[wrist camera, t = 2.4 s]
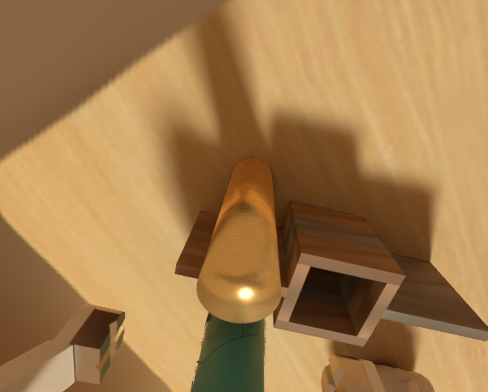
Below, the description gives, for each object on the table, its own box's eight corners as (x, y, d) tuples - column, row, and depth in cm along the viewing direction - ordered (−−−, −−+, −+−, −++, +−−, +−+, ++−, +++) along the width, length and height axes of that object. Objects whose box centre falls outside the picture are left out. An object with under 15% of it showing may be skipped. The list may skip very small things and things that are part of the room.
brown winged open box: (205, 181, 28) (181, 226, 20) (446, 236, 29) (520, 301, 20) (195, 244, 31) (170, 305, 23) (411, 292, 32) (462, 367, 24)
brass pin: (258, 149, 26) (252, 243, 12) (279, 183, 27) (297, 305, 13) (224, 170, 27) (179, 279, 13) (246, 201, 28) (227, 333, 14)
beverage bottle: (244, 262, 32) (218, 515, 13) (276, 299, 34) (291, 563, 15) (202, 286, 34) (130, 536, 15) (235, 319, 36) (204, 576, 17)
